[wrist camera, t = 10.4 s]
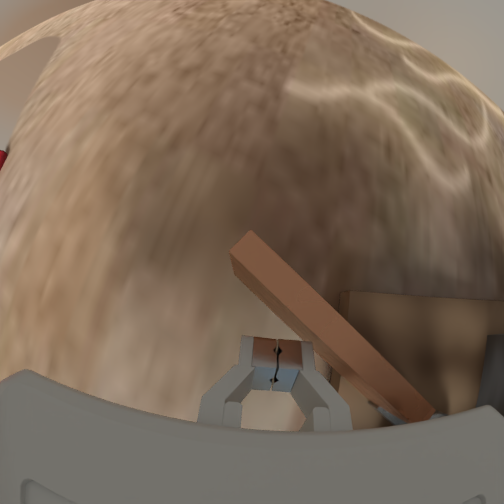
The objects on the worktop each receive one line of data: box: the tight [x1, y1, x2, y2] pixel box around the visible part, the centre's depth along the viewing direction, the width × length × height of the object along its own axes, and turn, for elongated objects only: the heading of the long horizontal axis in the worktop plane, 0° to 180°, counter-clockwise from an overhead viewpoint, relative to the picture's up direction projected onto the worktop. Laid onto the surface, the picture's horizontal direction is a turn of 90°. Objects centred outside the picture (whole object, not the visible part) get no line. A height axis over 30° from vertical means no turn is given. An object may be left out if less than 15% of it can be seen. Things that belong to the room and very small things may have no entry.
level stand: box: [330, 290, 504, 430], centre depth 10 cm, size 22×22×14 cm
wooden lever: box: [229, 230, 448, 426], centre depth 12 cm, size 7×22×8 cm, turn 46°
